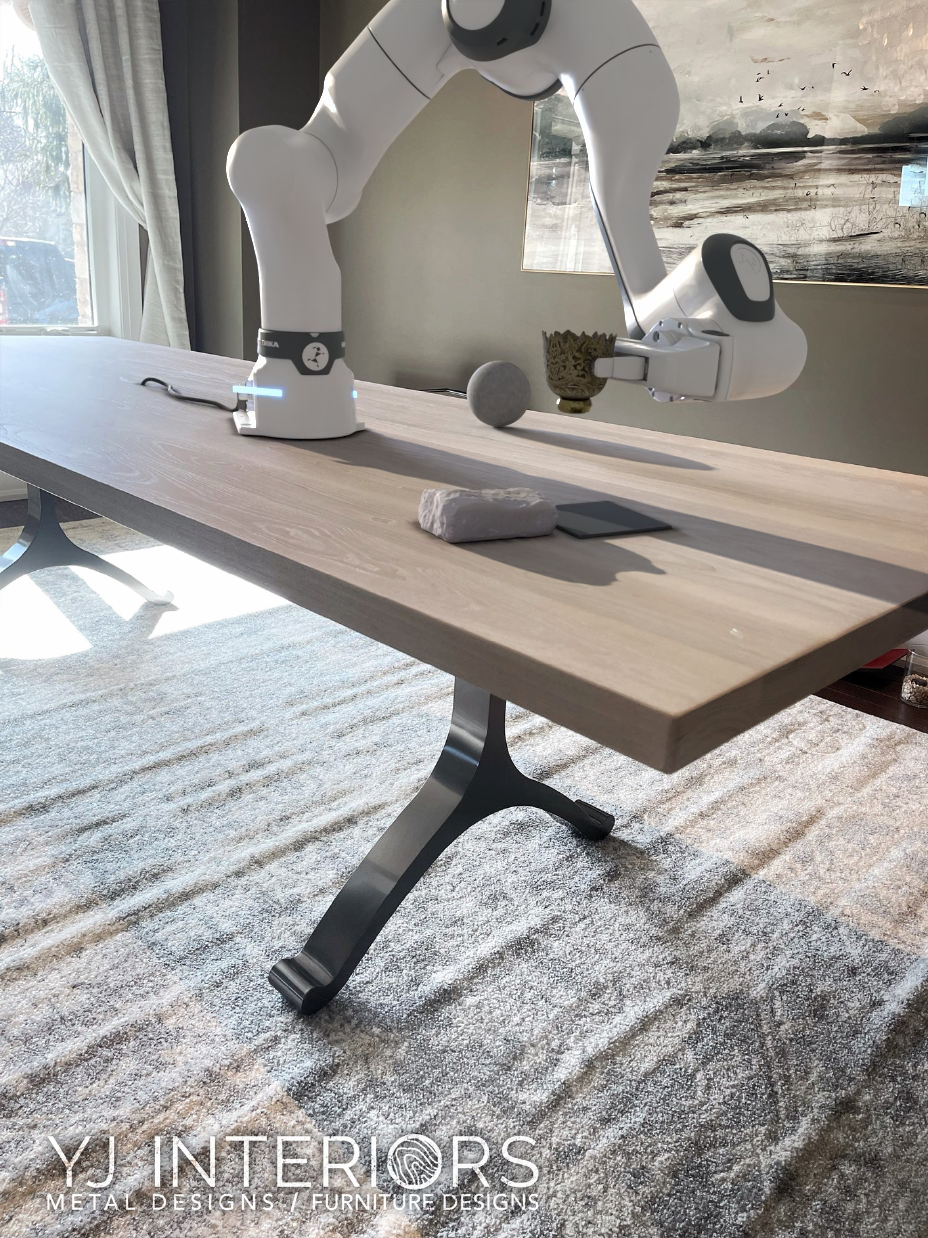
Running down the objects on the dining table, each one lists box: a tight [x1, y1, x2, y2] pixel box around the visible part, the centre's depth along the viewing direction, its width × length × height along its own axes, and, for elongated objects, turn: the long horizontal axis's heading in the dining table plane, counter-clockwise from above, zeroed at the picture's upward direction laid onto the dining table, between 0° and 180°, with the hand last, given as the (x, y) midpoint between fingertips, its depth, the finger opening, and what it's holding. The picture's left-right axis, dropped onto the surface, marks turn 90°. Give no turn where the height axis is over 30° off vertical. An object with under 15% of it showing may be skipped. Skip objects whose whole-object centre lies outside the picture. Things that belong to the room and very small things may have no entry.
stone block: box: [417, 486, 558, 544], centre depth 91 cm, size 12×5×10 cm
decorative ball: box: [466, 360, 532, 428], centre depth 148 cm, size 10×10×10 cm
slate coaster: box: [554, 500, 673, 539], centre depth 97 cm, size 11×11×1 cm
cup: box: [541, 329, 618, 415], centre depth 96 cm, size 8×7×8 cm
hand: (570, 362), depth 96 cm, fingers closed on cup, 7 cm apart
